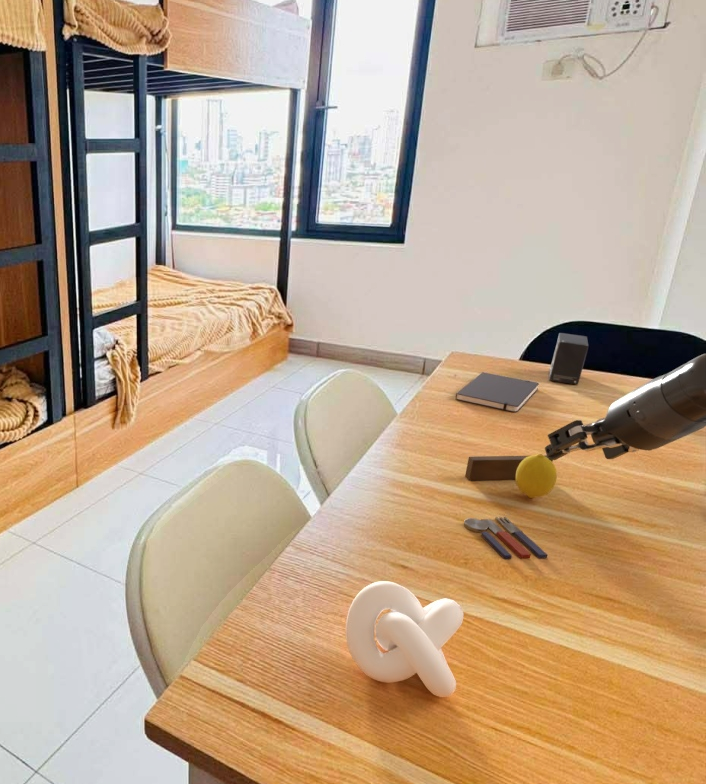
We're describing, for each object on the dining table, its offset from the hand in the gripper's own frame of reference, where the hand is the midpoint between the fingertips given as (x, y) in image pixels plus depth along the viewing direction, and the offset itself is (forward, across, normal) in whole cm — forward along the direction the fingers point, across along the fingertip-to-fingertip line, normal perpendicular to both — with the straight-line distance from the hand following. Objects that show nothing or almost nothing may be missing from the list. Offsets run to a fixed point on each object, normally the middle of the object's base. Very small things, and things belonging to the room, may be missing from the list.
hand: (577, 453), depth 93 cm
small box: (+56, -46, -39) cm, 83 cm away
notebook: (+48, -23, -31) cm, 62 cm away
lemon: (+14, 0, +3) cm, 14 cm away
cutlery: (+5, +12, +11) cm, 17 cm away
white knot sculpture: (-13, +37, +30) cm, 50 cm away
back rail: (+18, 0, -2) cm, 18 cm away
